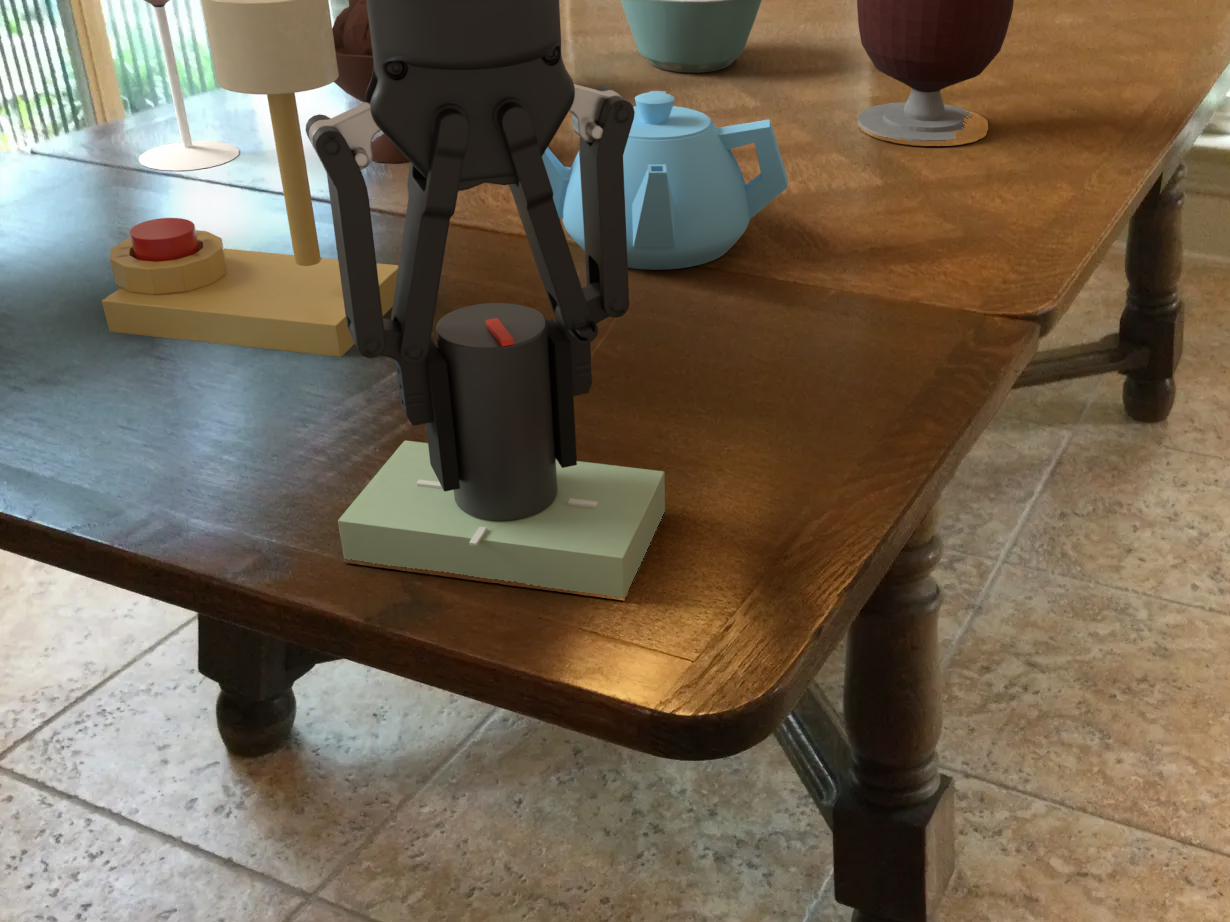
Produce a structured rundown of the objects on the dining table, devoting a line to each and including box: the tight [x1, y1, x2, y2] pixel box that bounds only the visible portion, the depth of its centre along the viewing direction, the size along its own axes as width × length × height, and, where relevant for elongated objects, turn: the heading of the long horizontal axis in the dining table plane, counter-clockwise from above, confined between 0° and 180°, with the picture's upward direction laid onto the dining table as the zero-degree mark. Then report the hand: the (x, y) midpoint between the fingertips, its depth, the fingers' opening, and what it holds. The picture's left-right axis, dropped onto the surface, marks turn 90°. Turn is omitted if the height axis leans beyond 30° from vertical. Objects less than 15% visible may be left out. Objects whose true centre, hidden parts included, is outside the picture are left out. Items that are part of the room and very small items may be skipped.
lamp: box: [200, 0, 339, 266], centre depth 82 cm, size 7×7×16 cm
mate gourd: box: [856, 0, 1015, 142], centre depth 121 cm, size 16×14×20 cm
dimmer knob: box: [435, 302, 558, 521], centre depth 63 cm, size 5×5×9 cm
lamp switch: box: [129, 217, 200, 262], centre depth 88 cm, size 4×4×2 cm
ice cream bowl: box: [332, 0, 410, 164], centre depth 114 cm, size 11×11×15 cm
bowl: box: [620, 0, 762, 74], centre depth 143 cm, size 16×16×8 cm
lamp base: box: [101, 229, 399, 358], centre depth 88 cm, size 18×10×4 cm, turn 78°
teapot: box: [542, 90, 789, 271], centre depth 98 cm, size 15×15×11 cm
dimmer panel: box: [337, 440, 666, 598], centre depth 66 cm, size 14×9×3 cm, turn 78°
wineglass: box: [138, 0, 240, 172], centre depth 111 cm, size 9×10×22 cm
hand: (503, 464), depth 65 cm, fingers closed on dimmer knob, 5 cm apart
